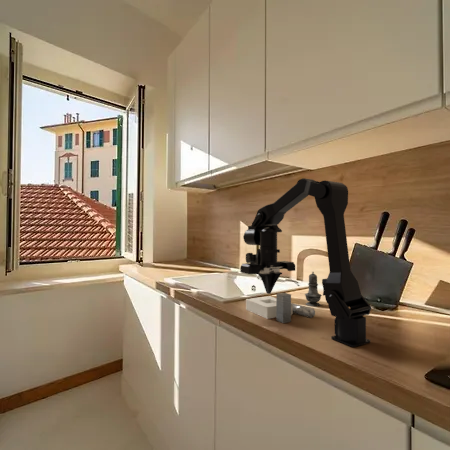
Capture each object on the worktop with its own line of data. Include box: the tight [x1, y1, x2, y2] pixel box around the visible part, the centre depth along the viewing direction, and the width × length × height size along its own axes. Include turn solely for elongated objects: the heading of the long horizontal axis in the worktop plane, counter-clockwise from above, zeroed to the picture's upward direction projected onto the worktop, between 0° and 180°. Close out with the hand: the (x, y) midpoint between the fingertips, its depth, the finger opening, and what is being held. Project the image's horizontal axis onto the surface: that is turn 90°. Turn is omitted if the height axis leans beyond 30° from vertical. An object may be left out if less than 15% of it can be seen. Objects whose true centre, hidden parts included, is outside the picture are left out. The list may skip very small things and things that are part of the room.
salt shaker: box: [304, 271, 323, 308], centre depth 107 cm, size 6×6×12 cm
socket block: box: [245, 295, 294, 320], centre depth 97 cm, size 12×10×4 cm
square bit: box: [275, 292, 292, 324], centre depth 87 cm, size 3×3×8 cm
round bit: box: [292, 302, 316, 318], centre depth 94 cm, size 8×3×3 cm
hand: (268, 293), depth 97 cm, fingers closed
